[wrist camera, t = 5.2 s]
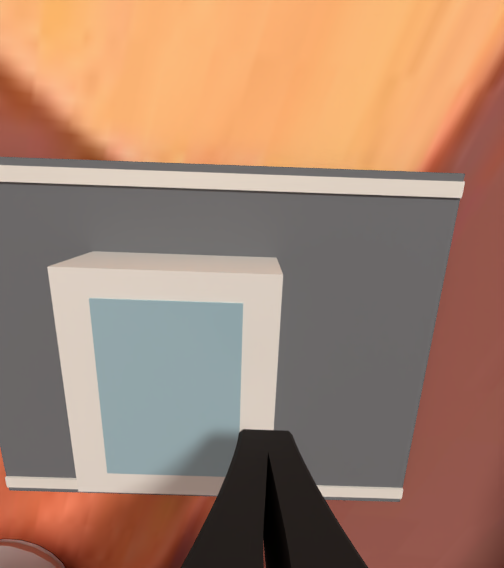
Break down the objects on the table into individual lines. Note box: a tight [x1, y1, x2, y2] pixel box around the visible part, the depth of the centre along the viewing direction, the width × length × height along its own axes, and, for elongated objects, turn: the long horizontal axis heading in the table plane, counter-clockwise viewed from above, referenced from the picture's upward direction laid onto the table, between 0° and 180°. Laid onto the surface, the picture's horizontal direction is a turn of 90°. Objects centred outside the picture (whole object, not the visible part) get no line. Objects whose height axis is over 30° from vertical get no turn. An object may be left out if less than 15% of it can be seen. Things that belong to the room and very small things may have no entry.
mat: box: [0, 157, 465, 502], centre depth 14 cm, size 20×16×1 cm
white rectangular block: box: [47, 251, 283, 496], centre depth 13 cm, size 3×9×8 cm
